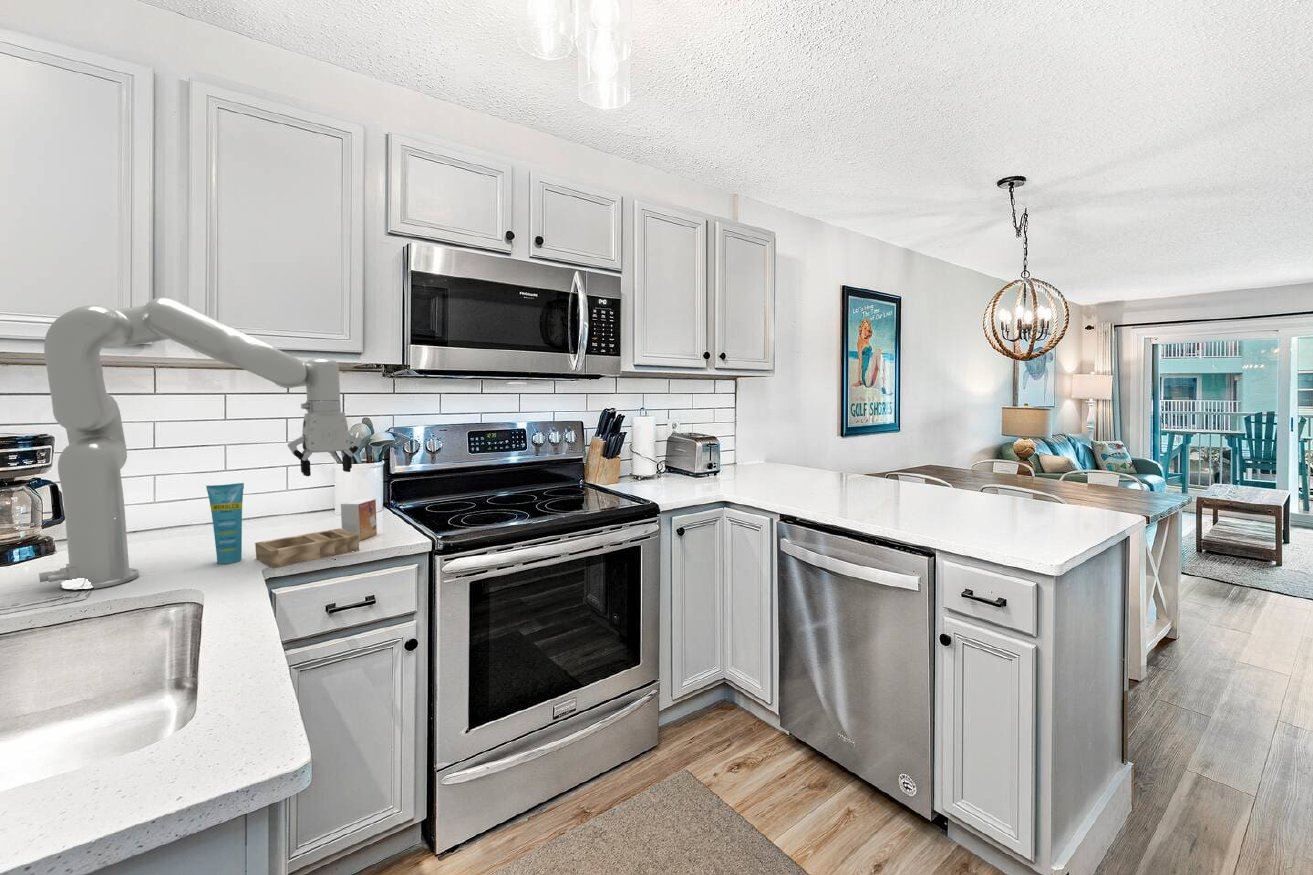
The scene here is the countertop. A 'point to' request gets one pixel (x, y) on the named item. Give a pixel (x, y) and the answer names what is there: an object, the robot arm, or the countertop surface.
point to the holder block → (306, 547)
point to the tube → (227, 520)
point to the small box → (359, 517)
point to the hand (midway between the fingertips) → (327, 473)
